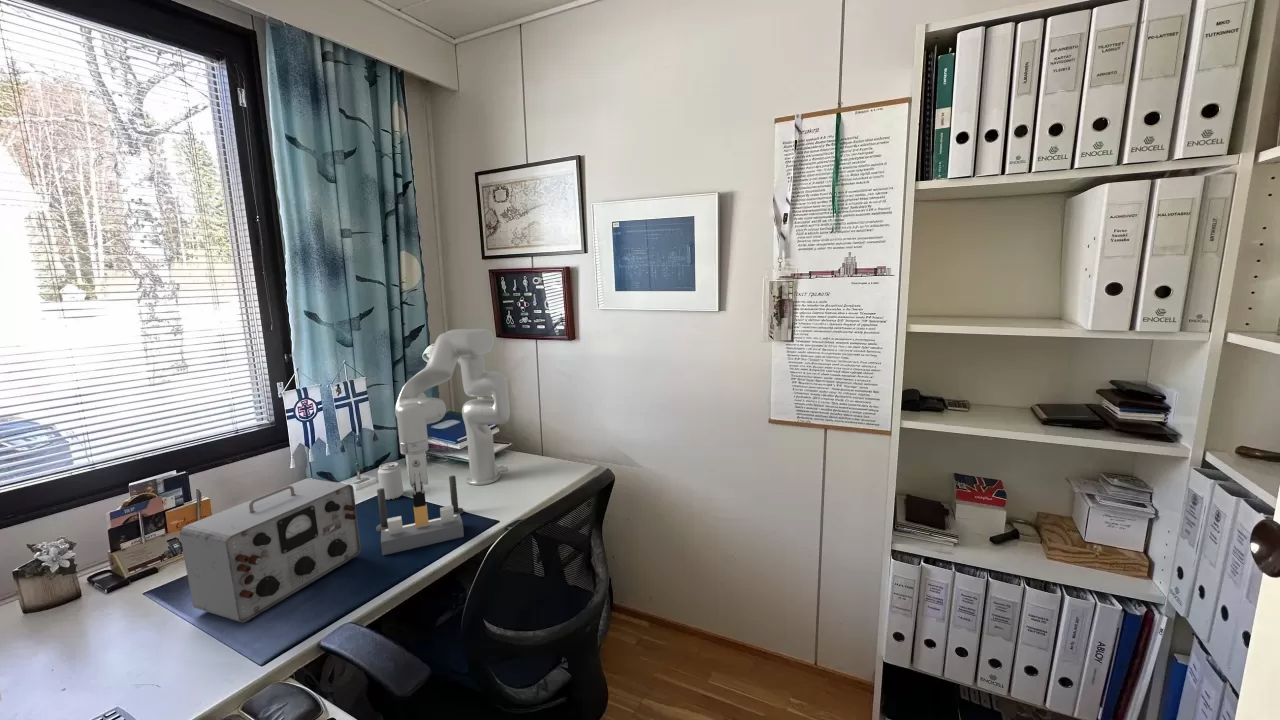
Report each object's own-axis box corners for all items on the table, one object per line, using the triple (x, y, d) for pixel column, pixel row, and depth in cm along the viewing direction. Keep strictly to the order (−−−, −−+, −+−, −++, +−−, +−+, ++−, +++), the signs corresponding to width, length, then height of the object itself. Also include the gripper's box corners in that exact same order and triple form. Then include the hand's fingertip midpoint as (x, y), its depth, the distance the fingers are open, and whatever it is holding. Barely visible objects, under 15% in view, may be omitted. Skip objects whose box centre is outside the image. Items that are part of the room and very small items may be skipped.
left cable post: (393, 523, 163) (389, 485, 161) (393, 529, 158) (389, 490, 156) (376, 526, 161) (371, 488, 159) (375, 533, 156) (371, 494, 154)
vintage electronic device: (246, 632, 113) (229, 527, 109) (194, 616, 119) (176, 516, 115) (367, 558, 142) (356, 473, 138) (320, 548, 148) (309, 466, 144)
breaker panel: (460, 525, 160) (459, 513, 159) (463, 536, 153) (462, 523, 152) (382, 542, 150) (381, 529, 150) (382, 555, 143) (380, 541, 143)
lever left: (402, 528, 149) (401, 515, 145) (403, 531, 148) (401, 519, 144) (389, 531, 147) (387, 518, 144) (389, 534, 146) (387, 522, 143)
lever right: (453, 517, 155) (452, 505, 151) (453, 520, 154) (453, 508, 150) (440, 520, 153) (439, 507, 150) (441, 523, 152) (440, 511, 149)
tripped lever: (428, 523, 152) (426, 503, 152) (428, 524, 151) (426, 504, 151) (415, 525, 151) (413, 506, 150) (415, 527, 149) (413, 507, 149)
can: (397, 500, 180) (393, 468, 178) (376, 501, 180) (372, 468, 178) (407, 491, 187) (404, 460, 185) (387, 492, 187) (383, 461, 185)
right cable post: (462, 508, 172) (459, 472, 170) (464, 514, 167) (461, 477, 165) (446, 511, 170) (443, 475, 168) (448, 518, 165) (444, 480, 163)
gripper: (429, 450, 143) (435, 512, 145) (426, 437, 156) (431, 494, 159) (400, 455, 140) (406, 518, 142) (399, 441, 153) (405, 499, 155)
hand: (419, 505), depth 150 cm, fingers closed
